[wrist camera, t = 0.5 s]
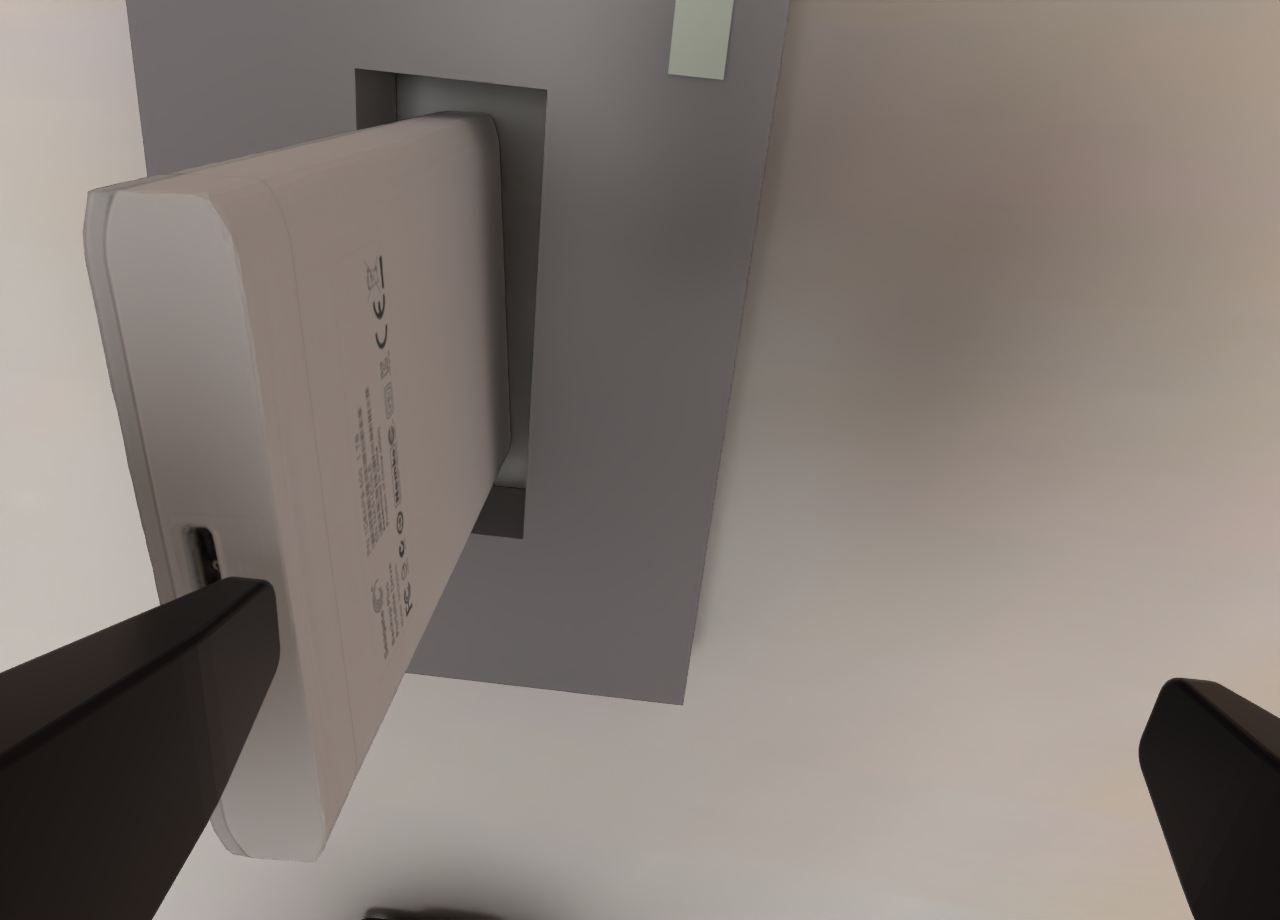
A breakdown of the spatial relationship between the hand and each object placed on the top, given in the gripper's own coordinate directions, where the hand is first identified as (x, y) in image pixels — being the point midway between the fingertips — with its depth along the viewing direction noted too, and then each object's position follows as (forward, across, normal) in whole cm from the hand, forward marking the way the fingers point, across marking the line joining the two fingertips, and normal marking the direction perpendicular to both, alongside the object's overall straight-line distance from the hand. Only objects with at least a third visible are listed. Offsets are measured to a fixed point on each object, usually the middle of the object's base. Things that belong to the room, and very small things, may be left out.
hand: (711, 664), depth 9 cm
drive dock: (+13, +5, 0) cm, 14 cm away
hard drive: (+13, +5, 0) cm, 14 cm away
